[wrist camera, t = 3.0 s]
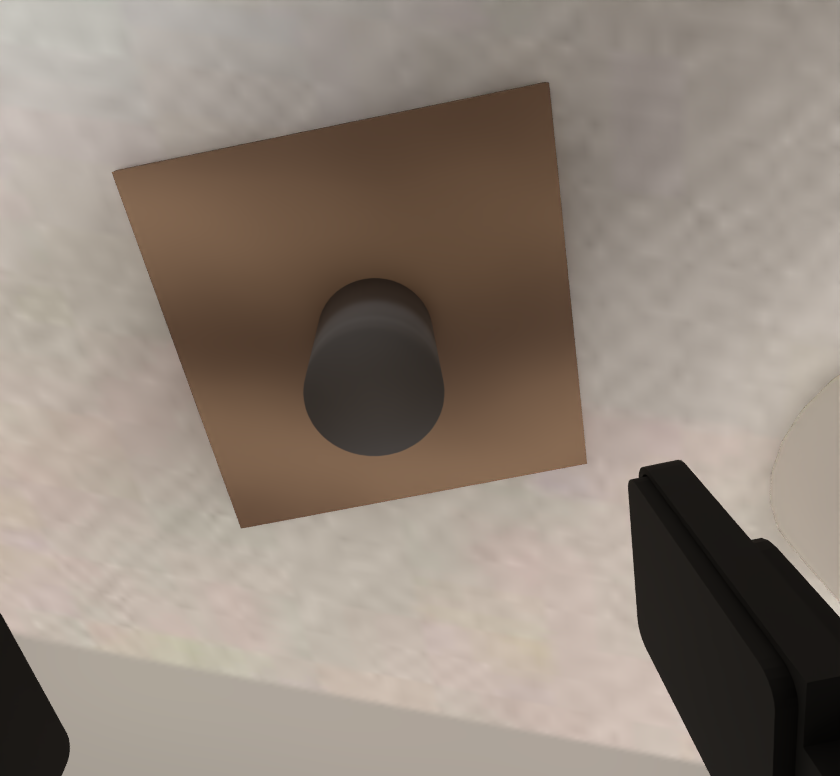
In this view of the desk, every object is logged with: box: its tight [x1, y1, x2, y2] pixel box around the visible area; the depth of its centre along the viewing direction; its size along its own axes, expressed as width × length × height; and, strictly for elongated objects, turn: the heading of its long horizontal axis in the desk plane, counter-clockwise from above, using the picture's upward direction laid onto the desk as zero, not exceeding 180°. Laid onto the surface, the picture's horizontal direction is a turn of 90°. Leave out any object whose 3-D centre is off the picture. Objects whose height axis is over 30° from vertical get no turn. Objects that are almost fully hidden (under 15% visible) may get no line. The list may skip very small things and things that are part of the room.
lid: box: [112, 82, 587, 528], centre depth 18 cm, size 11×11×5 cm
